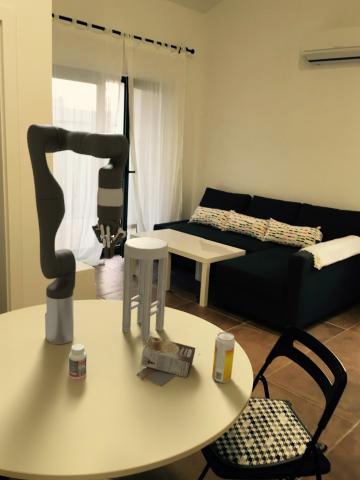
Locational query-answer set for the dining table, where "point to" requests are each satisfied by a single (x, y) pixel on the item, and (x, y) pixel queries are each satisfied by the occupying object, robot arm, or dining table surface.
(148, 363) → the coffee box
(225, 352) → the beer can
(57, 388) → the dining table surface
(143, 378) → the kerb
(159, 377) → the mat
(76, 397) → the dining table surface
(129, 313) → the stool
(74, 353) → the pill bottle
